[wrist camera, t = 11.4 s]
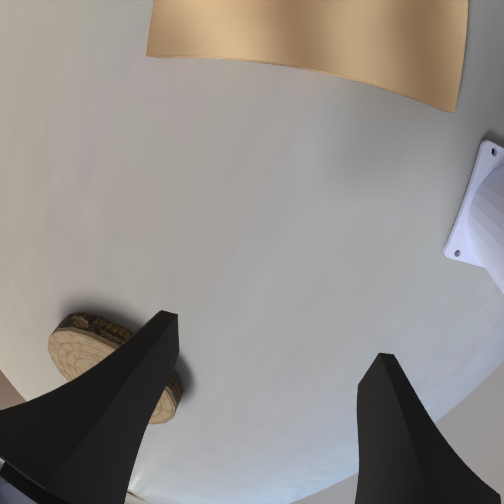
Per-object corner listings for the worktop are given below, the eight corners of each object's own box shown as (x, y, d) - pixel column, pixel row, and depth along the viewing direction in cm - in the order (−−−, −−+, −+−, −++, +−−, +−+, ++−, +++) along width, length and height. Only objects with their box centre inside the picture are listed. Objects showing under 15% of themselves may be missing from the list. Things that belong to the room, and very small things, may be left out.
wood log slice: (122, 405, 36) (114, 422, 33) (42, 325, 30) (29, 341, 27) (211, 401, 30) (205, 424, 28) (114, 294, 24) (97, 316, 21)
